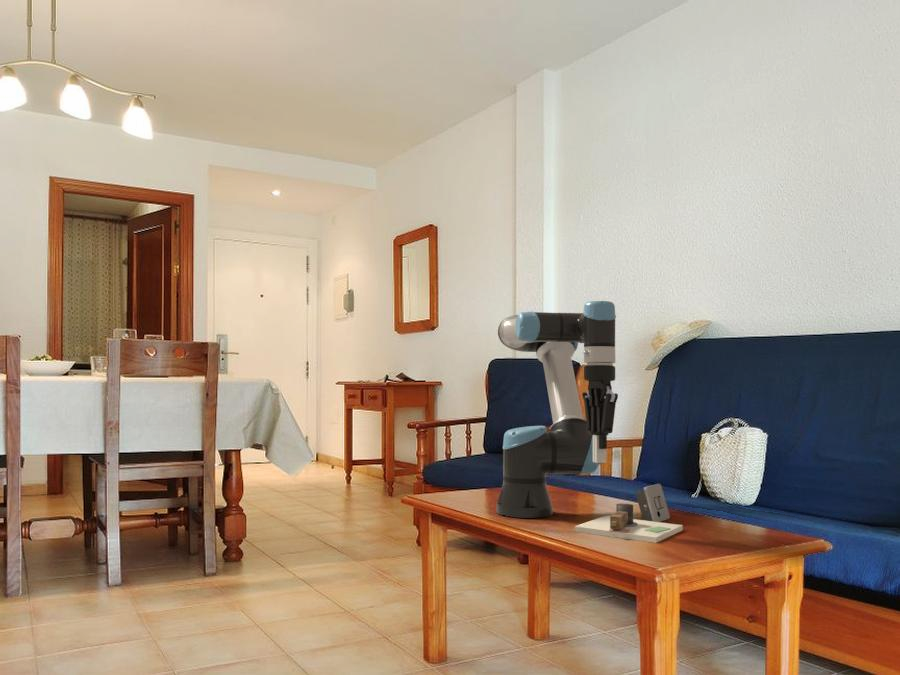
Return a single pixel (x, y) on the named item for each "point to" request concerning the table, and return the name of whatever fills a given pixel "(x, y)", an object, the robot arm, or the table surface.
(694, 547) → the table surface
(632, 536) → the tuner plate
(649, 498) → the electrical switch
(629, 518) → the peg
